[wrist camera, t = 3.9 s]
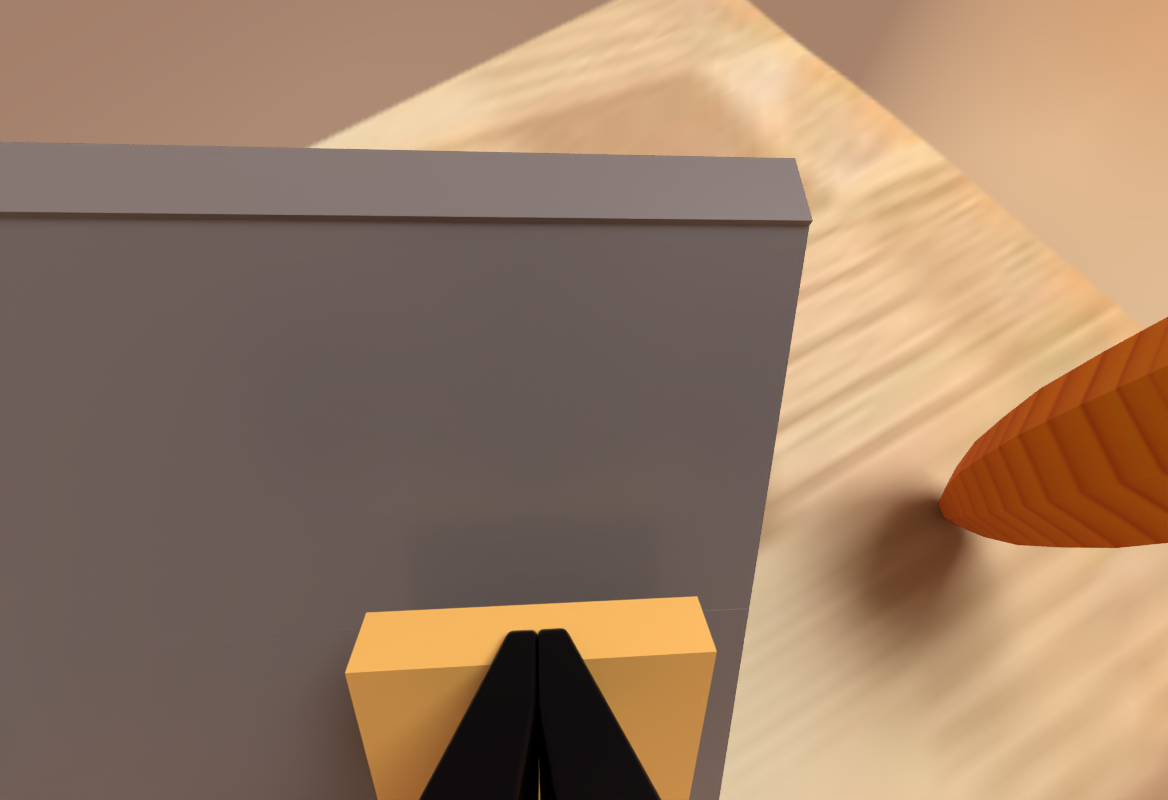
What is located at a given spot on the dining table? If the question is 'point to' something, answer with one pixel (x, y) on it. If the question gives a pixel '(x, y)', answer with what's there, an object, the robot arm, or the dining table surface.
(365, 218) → the switch console
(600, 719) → the robot arm
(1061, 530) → the carrot
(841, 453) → the dining table surface
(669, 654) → the block
